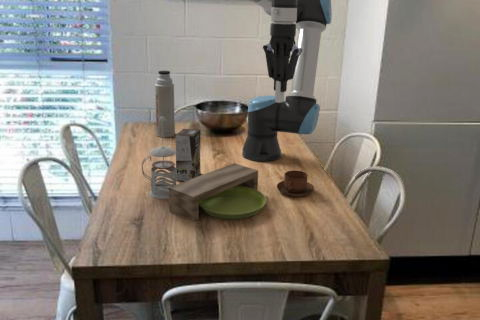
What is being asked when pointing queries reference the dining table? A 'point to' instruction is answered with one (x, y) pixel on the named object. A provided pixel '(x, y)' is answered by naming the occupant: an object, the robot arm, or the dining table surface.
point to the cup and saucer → (295, 184)
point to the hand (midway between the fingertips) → (279, 101)
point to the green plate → (234, 203)
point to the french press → (161, 187)
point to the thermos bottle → (164, 104)
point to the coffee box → (187, 154)
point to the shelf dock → (208, 188)
